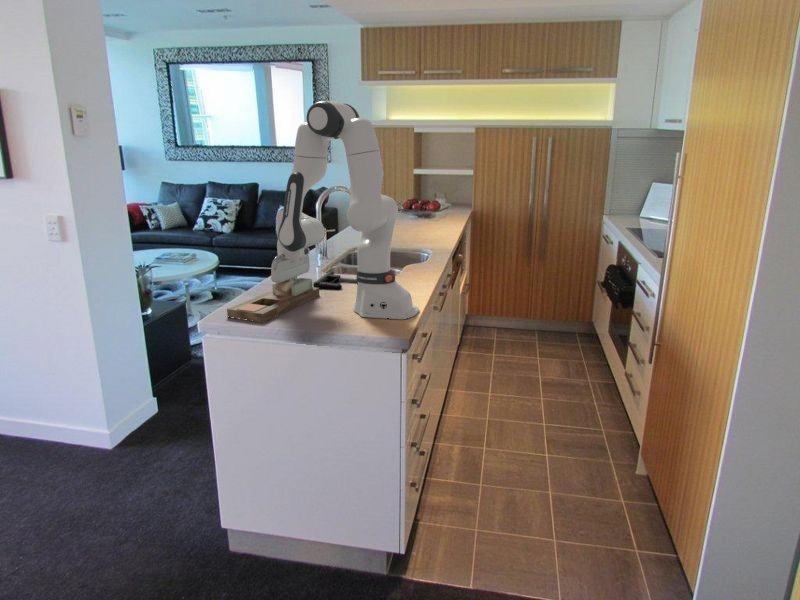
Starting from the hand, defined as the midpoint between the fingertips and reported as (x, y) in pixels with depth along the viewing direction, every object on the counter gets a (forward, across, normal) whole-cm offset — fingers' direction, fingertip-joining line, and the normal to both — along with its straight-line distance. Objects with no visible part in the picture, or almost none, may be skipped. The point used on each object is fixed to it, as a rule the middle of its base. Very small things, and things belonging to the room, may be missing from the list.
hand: (291, 289), depth 214 cm
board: (+4, -10, 0) cm, 11 cm away
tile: (+1, -24, 0) cm, 24 cm away
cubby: (+1, +1, 0) cm, 1 cm away
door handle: (+4, +27, -4) cm, 28 cm away
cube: (+1, -5, 0) cm, 5 cm away
